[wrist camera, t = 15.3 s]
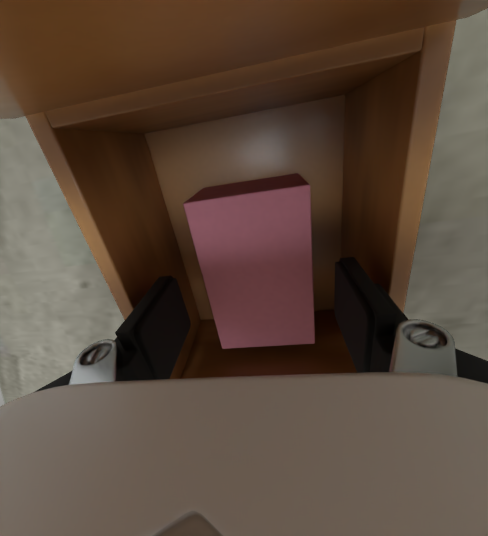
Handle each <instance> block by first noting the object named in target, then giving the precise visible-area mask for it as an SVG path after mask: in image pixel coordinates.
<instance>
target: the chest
mask: <svg viewBox="0 0 488 536" xmlns="http://www.w3.org/2000/svg"><path fill="white" fill-rule="evenodd" d="M455 25H456V20H453V21H449V22H444V23H440V24H435V25H431V26H426V27H422V28H417V29H413V30H408V31H404V32H400V33H395V34H391V35H386V36H382V37H377V38H373V39H368V40H364V41H359V42H355V43H350V44H346V45H341V46H337V47H332V48H328V49H323V50H319V51H314V52H310V53H305V54H301V55H296V56H292V57H287V58H283V59H278V60H274V61H269V62H265V63H261V64H256V65H252V66H247V67H243V68H238V69H234V70H229V71H225V72H220V73H216V74H211V75H207V76H202V77H198V78H193V79H189V80H184V81H180V82H175V83H171V84H166V85H162V86H157V87H153V88H148V89H144V90H139V91H135V92H130V93H126V94H121V95H117V96H113V97H108V98H104V99H99V100H95V101H90V102H86V103H81V104H77V105H72V106H68V107H63V108H59V109H54V110H50V111H45V112H41V113H36V114H32V115H27V116H26V118H27V120H28V123H29V125H30V127H31V129H32V131H33V133H34V135H35V137H36V139H37V141H38V143H39V145H40V147H41V149H42V151H43V153H44V155H45V157H46V159H47V161H48V164H49V166H50V168H51V170H52V172H53V174H54V176H55V178H56V180H57V182H58V184H59V186H60V188H61V190H62V192H63V194H64V196H65V198H66V200H67V203H68V205H69V207H70V209H71V211H72V213H73V215H74V217H75V219H76V221H77V223H78V225H79V227H80V229H81V231H82V233H83V235H84V237H85V239H86V242H87V244H88V246H89V248H90V250H91V252H92V254H93V256H94V258H95V260H96V262H97V264H98V266H99V268H100V270H101V272H102V274H103V276H104V278H105V281H106V283H107V285H108V287H109V289H110V291H111V293H112V295H113V297H114V299H115V301H116V303H117V305H118V307H119V309H120V311H121V313H122V315H123V317H124V320H126V318H127V317H128V316H129V315H130V313H131V312H132V311H133V309H134V308H135V307H136V306H137V304H138V303H139V302H140V301H141V299H142V298H143V297H144V295H145V294H146V293H147V292H148V290H149V289H150V288H151V287H152V285H153V284H154V283H155V281H156V280H157V279H158V278H159V277H162V276H172V277H173V278H176V279H177V282H178V285H179V288H180V291H181V294H182V297H183V300H184V303H185V306H186V309H187V312H188V315H189V318H190V321H191V326H190V329H189V332H188V334H187V337H186V339H185V342H184V344H183V347H182V349H181V352H180V354H179V357H178V359H177V361H176V364H175V366H174V369H173V371H172V374H171V376H170V379H185V378H211V377H238V376H266V375H298V374H330V373H357V371H356V368H355V366H354V363H353V361H352V358H351V356H350V353H349V351H348V348H347V346H346V343H345V340H344V338H343V335H342V333H341V330H340V328H339V325H338V323H337V320H336V318H335V313H334V291H335V262H339V260H340V258H347V257H354V258H355V259H356V260H357V262H358V263H359V264H360V265H361V267H362V268H363V269H364V271H365V272H366V273H367V275H368V276H369V277H370V279H371V280H372V281H373V283H374V284H376V283H378V284H380V285H381V286H382V287H383V289H384V290H385V291H386V292H387V294H388V295H389V296H390V297H391V299H392V300H393V301H394V302H395V304H396V305H397V306H398V307H399V309H400V310H401V311H402V312H403V311H404V306H405V300H406V295H407V289H408V284H409V278H410V273H411V267H412V262H413V256H414V251H415V245H416V240H417V234H418V229H419V223H420V218H421V212H422V207H423V201H424V196H425V190H426V185H427V179H428V174H429V168H430V163H431V157H432V152H433V146H434V141H435V135H436V130H437V124H438V119H439V113H440V108H441V102H442V97H443V91H444V85H445V80H446V74H447V69H448V63H449V58H450V52H451V47H452V41H453V36H454V30H455ZM296 173H298V174H299V175H300V176H301V177H302V178H303V179H304V180H305V181H306V182H307V183H308V184H310V194H311V227H312V260H313V293H314V327H315V343H314V344H298V345H281V346H263V347H246V348H228V349H222V346H221V342H220V339H219V335H218V331H217V328H216V324H215V320H214V317H213V313H212V309H211V306H210V302H209V298H208V295H207V291H206V287H205V283H204V280H203V276H202V272H201V269H200V265H199V261H198V258H197V254H196V250H195V247H194V243H193V239H192V236H191V232H190V228H189V224H188V221H187V217H186V213H185V210H184V206H183V203H184V202H186V201H187V200H188V199H190V198H191V197H192V196H193V195H195V194H196V193H197V192H199V191H200V190H201V189H203V188H206V187H212V186H218V185H225V184H231V183H238V182H244V181H251V180H257V179H263V178H270V177H276V176H283V175H289V174H296Z"/></svg>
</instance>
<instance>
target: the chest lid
mask: <svg viewBox="0 0 488 536" xmlns="http://www.w3.org/2000/svg"><path fill="white" fill-rule="evenodd" d="M487 8H488V0H0V119H7V118H18V117H23V116H27V115H32V114H36V113H41V112H45V111H50V110H54V109H59V108H63V107H68V106H72V105H77V104H81V103H86V102H90V101H95V100H99V99H104V98H108V97H113V96H117V95H121V94H126V93H130V92H135V91H139V90H144V89H148V88H153V87H157V86H162V85H166V84H171V83H175V82H180V81H184V80H189V79H193V78H198V77H202V76H207V75H211V74H216V73H220V72H225V71H229V70H234V69H238V68H243V67H247V66H252V65H256V64H261V63H265V62H269V61H274V60H278V59H283V58H287V57H292V56H296V55H301V54H305V53H310V52H314V51H319V50H323V49H328V48H332V47H337V46H341V45H346V44H350V43H355V42H359V41H364V40H368V39H373V38H377V37H382V36H386V35H391V34H395V33H400V32H404V31H408V30H413V29H417V28H422V27H426V26H431V25H435V24H440V23H444V22H449V21H453V20H458V19H462V18H467V17H470V16H472V15H474V14H476V13H478V12H480V11H482V10H485V9H487Z"/></svg>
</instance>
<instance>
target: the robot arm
mask: <svg viewBox="0 0 488 536" xmlns="http://www.w3.org/2000/svg"><path fill="white" fill-rule="evenodd" d="M334 313H335V318H336V320H337V323H338V325H339V328H340V330H341V333H342V335H343V338H344V340H345V343H346V346H347V348H348V351H349V353H350V356H351V358H352V361H353V363H354V366H355V368H356V371H357V373H330V374H298V375H266V376H238V377H211V378H185V379H170V376H171V374H172V371H173V369H174V366H175V364H176V361H177V359H178V357H179V354H180V352H181V349H182V347H183V344H184V342H185V339H186V337H187V334H188V332H189V329H190V326H191V321H190V318H189V315H188V312H187V309H186V306H185V303H184V300H183V297H182V294H181V291H180V288H179V285H178V282H177V279H176V278H173V277H172V276H162V277H159V278H158V279H157V280H156V281H155V283H154V284H153V285H152V287H151V288H150V289H149V290H148V292H147V293H146V294H145V295H144V297H143V298H142V299H141V301H140V302H139V303H138V304H137V306H136V307H135V308H134V309H133V311H132V312H131V313H130V315H129V316H128V317H127V318H126V320H125V321H124V322H123V324H122V325H121V326H120V327H119V329H118V330H117V331H116V332H115V333H116V335H117V338H116V339H115V340H111V339H106V340H101V341H98V342H96V343H93V344H91V345H90V346H88V347H87V348H85V349H84V350H83V351H82V352H81V353H80V354H79V355H78V356H77V358H76V360H75V363H74V367H73V371H71V372H69V373H68V374H66V375H64V376H62V377H60V378H59V379H57V380H55V381H53V382H51V383H50V384H48V385H46V386H44V387H42V388H41V389H39V390H37V391H35V392H33V393H31V394H28V395H26V396H23V397H20V398H17V399H15V400H13V401H11V402H8V403H6V404H4V405H2V406H1V407H0V536H488V361H486V360H483V359H481V358H478V357H476V356H473V355H470V354H468V353H465V352H463V351H460V350H458V349H455V342H454V339H453V337H452V335H451V334H450V333H449V332H448V331H447V330H445V329H444V328H442V327H441V326H439V325H436V324H434V323H431V322H428V321H424V320H417V319H415V320H408V319H407V317H406V316H405V315H404V314H403V312H402V311H401V310H400V309H399V307H398V306H397V305H396V304H395V302H394V301H393V300H392V299H391V297H390V296H389V295H388V294H387V292H386V291H385V290H384V289H383V287H382V286H381V285H380V284H378V283H376V284H374V283H373V281H372V280H371V279H370V277H369V276H368V275H367V273H366V272H365V271H364V269H363V268H362V267H361V265H360V264H359V263H358V262H357V260H356V259H355V258H354V257H347V258H340V260H339V262H335V291H334Z"/></svg>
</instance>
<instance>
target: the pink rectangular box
mask: <svg viewBox="0 0 488 536" xmlns="http://www.w3.org/2000/svg"><path fill="white" fill-rule="evenodd" d="M183 206H184V210H185V213H186V217H187V221H188V224H189V228H190V232H191V236H192V239H193V243H194V247H195V250H196V254H197V258H198V261H199V265H200V269H201V272H202V276H203V280H204V283H205V287H206V291H207V295H208V298H209V302H210V306H211V309H212V313H213V317H214V320H215V324H216V328H217V331H218V335H219V339H220V342H221V346H222V349H228V348H246V347H263V346H281V345H298V344H314V343H315V327H314V293H313V260H312V227H311V194H310V184H308V183H307V182H306V181H305V180H304V179H303V178H302V177H301V176H300V175H299V174H298V173H296V174H289V175H283V176H276V177H270V178H263V179H257V180H251V181H244V182H238V183H231V184H225V185H218V186H212V187H206V188H203V189H201V190H200V191H199V192H197V193H196V194H195V195H193V196H192V197H191V198H190V199H188V200H187V201H186V202H184V203H183Z"/></svg>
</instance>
